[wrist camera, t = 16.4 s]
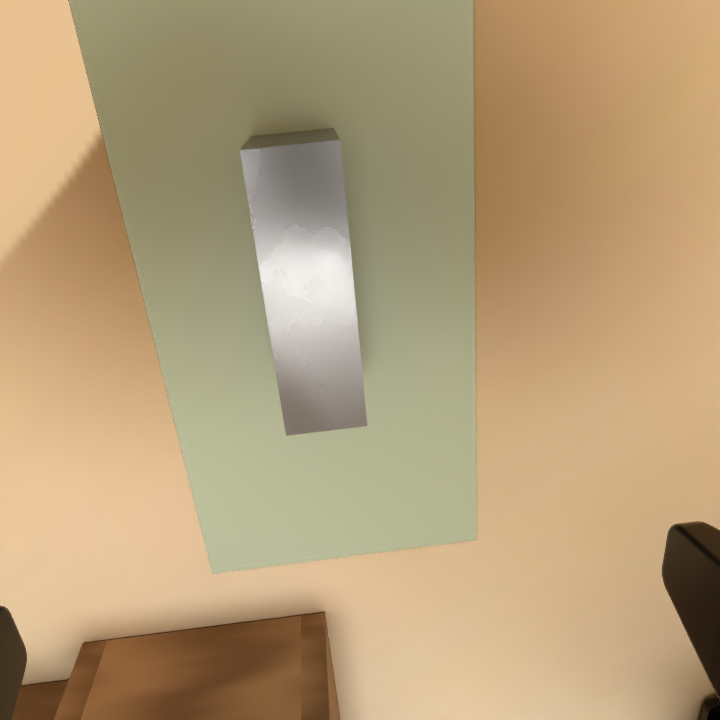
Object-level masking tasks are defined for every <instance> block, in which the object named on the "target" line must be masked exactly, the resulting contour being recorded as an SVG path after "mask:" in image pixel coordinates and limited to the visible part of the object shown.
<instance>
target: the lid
mask: <svg viewBox="0 0 720 720" xmlns="http://www.w3.org/2000/svg"><path fill="white" fill-rule="evenodd" d="M68 1H69V5H70V9H71V13H72V17H73V21H74V25H75V28H76V32H77V36H78V40H79V44H80V48H81V52H82V56H83V60H84V64H85V68H86V72H87V76H88V80H89V84H90V88H91V92H92V96H93V100H94V104H95V108H96V112H97V116H98V120H99V124H100V128H101V132H102V136H103V140H104V144H105V148H106V152H107V156H108V160H109V164H110V168H111V172H112V176H113V180H114V184H115V188H116V192H117V196H118V200H119V204H120V208H121V212H122V216H123V220H124V224H125V228H126V232H127V236H128V240H129V244H130V248H131V252H132V256H133V260H134V264H135V268H136V272H137V276H138V280H139V284H140V288H141V292H142V296H143V300H144V304H145V308H146V311H147V315H148V319H149V323H150V327H151V331H152V335H153V339H154V343H155V347H156V351H157V355H158V359H159V363H160V367H161V371H162V375H163V379H164V383H165V387H166V391H167V395H168V399H169V403H170V407H171V411H172V415H173V419H174V423H175V427H176V431H177V435H178V439H179V443H180V447H181V451H182V455H183V459H184V463H185V467H186V471H187V475H188V479H189V483H190V487H191V491H192V495H193V499H194V503H195V507H196V511H197V515H198V519H199V523H200V527H201V531H202V535H203V539H204V543H205V547H206V551H207V555H208V559H209V563H210V567H211V571H212V574H214V573H222V572H230V571H238V570H246V569H254V568H261V567H269V566H277V565H285V564H293V563H301V562H309V561H317V560H324V559H332V558H340V557H348V556H356V555H364V554H372V553H380V552H387V551H395V550H403V549H411V548H419V547H427V546H435V545H443V544H450V543H458V542H466V541H474V540H477V485H476V334H475V182H474V31H473V0H68Z"/></svg>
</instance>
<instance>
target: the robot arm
mask: <svg viewBox="0 0 720 720" xmlns="http://www.w3.org/2000/svg"><path fill="white" fill-rule="evenodd" d="M662 577H663V582H664V585H665V587H666V590H667V592H668V594H669V596H670V598H671V600H672V602H673V605H674V607H675V609H676V611H677V613H678V615H679V617H680V619H681V622H682V624H683V626H684V628H685V630H686V632H687V634H688V636H689V638H690V641H691V643H692V645H693V647H694V649H695V651H696V653H697V655H698V658H699V660H700V662H701V664H702V666H703V668H704V670H705V672H706V674H707V677H708V679H709V681H710V682H711V684H712V686H713V688H714V690H715V692H716V694H717V696H718V698H713V699H710V700H708V701H707V702H706V703H705V704H704V706H703V710H702V714H701V718H700V720H720V530H718V529H716V528H715V527H713V526H711V525H709V524H707V523H704V522H698V521H696V522H687V523H679V524H675V525H672V526H671V528H670V529H669V531H668V535H667V541H666V547H665V553H664V559H663V565H662ZM26 661H27V654H26V648H25V645H24V643H23V641H22V638H21V636H20V634H19V632H18V629H17V627H16V625H15V622H14V620H13V618H12V615H11V613H10V612H9V610H8V609H7V608H6V607H4V606H0V720H12V718H13V714H14V710H15V706H16V702H17V699H18V695H19V691H20V687H21V683H22V680H23V676H24V672H25V668H26Z"/></svg>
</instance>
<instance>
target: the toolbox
mask: <svg viewBox="0 0 720 720" xmlns="http://www.w3.org/2000/svg"><path fill="white" fill-rule="evenodd" d="M12 720H340V715H339V708H338V701H337V694H336V687H335V680H334V673H333V666H332V659H331V652H330V645H329V638H328V631H327V624H326V617H325V612H324V613H316V614H308V615H301V616H293V617H285V618H277V619H269V620H261V621H254V622H246V623H238V624H230V625H222V626H215V627H207V628H199V629H191V630H183V631H175V632H168V633H160V634H152V635H144V636H136V637H129V638H121V639H113V640H105V641H97V642H89V643H83V644H82V647H81V650H80V652H79V655H78V657H77V660H76V663H75V665H74V668H73V671H72V673H71V676H70V678H69V680H65V681H57V682H49V683H42V684H34V685H26V686H21V687H20V691H19V695H18V699H17V702H16V706H15V710H14V714H13V718H12Z"/></svg>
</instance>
